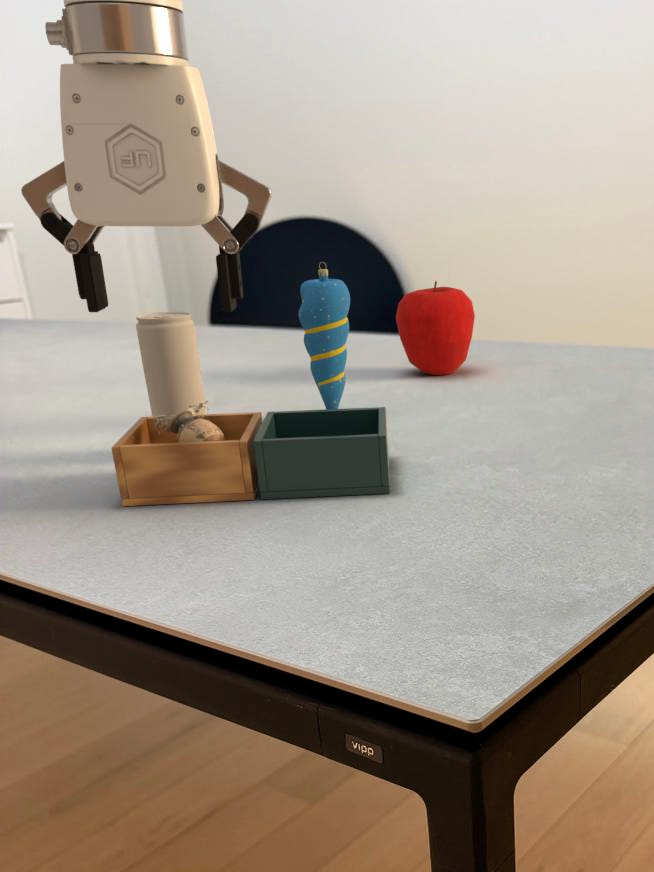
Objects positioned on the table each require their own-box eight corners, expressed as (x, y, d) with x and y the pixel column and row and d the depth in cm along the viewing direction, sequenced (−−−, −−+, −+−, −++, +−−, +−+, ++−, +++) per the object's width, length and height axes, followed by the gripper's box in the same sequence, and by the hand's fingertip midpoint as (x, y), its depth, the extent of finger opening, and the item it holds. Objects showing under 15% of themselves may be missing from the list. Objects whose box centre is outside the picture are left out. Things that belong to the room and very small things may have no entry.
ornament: (321, 410, 102) (307, 259, 95) (366, 412, 100) (355, 259, 94) (301, 421, 97) (284, 264, 90) (348, 423, 96) (335, 264, 89)
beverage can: (173, 462, 84) (149, 320, 79) (149, 452, 87) (124, 315, 82) (222, 452, 87) (202, 314, 82) (197, 442, 90) (176, 310, 85)
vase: (227, 462, 81) (261, 471, 76) (168, 482, 78) (200, 493, 73) (209, 399, 78) (243, 405, 74) (147, 418, 75) (179, 425, 71)
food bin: (122, 506, 73) (110, 447, 71) (150, 470, 82) (141, 416, 80) (254, 500, 74) (246, 441, 72) (267, 465, 83) (261, 412, 81)
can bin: (260, 499, 74) (253, 441, 72) (273, 464, 83) (267, 411, 81) (389, 493, 75) (386, 435, 72) (388, 459, 83) (385, 406, 81)
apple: (429, 363, 125) (425, 275, 121) (491, 369, 121) (489, 278, 116) (383, 376, 118) (377, 283, 113) (447, 383, 113) (443, 286, 108)
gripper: (-25, 34, 60) (29, 317, 68) (252, 39, 62) (275, 315, 69) (15, 48, 67) (61, 304, 74) (265, 52, 68) (285, 303, 76)
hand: (164, 309), depth 72 cm, fingers open, 9 cm apart
